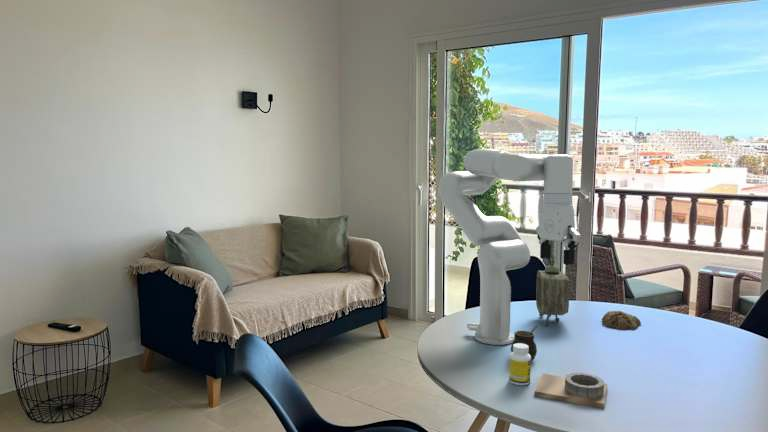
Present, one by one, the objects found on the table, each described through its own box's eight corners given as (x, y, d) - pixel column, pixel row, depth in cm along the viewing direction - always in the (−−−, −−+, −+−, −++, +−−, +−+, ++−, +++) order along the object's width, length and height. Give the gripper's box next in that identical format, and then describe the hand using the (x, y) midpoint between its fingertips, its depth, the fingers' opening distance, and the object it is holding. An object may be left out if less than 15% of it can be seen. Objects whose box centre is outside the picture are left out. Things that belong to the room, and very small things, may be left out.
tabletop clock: (535, 315, 202) (537, 248, 199) (561, 316, 200) (563, 248, 198) (541, 327, 187) (543, 255, 185) (568, 328, 186) (571, 256, 183)
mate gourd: (505, 357, 161) (506, 324, 160) (526, 354, 164) (527, 321, 163) (520, 366, 154) (521, 331, 153) (542, 362, 157) (543, 328, 156)
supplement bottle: (530, 386, 140) (532, 350, 139) (509, 385, 142) (510, 348, 140) (529, 378, 146) (530, 342, 145) (508, 376, 147) (509, 341, 146)
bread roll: (606, 317, 200) (606, 304, 199) (642, 323, 193) (643, 310, 192) (596, 326, 189) (597, 312, 189) (635, 333, 182) (635, 319, 182)
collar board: (534, 395, 135) (534, 381, 135) (542, 377, 146) (542, 364, 146) (604, 408, 128) (604, 393, 128) (607, 388, 139) (607, 374, 139)
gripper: (527, 198, 157) (526, 257, 159) (568, 202, 141) (567, 267, 143) (548, 197, 160) (547, 255, 162) (591, 201, 144) (589, 265, 146)
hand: (556, 261), depth 152 cm, fingers open, 9 cm apart
